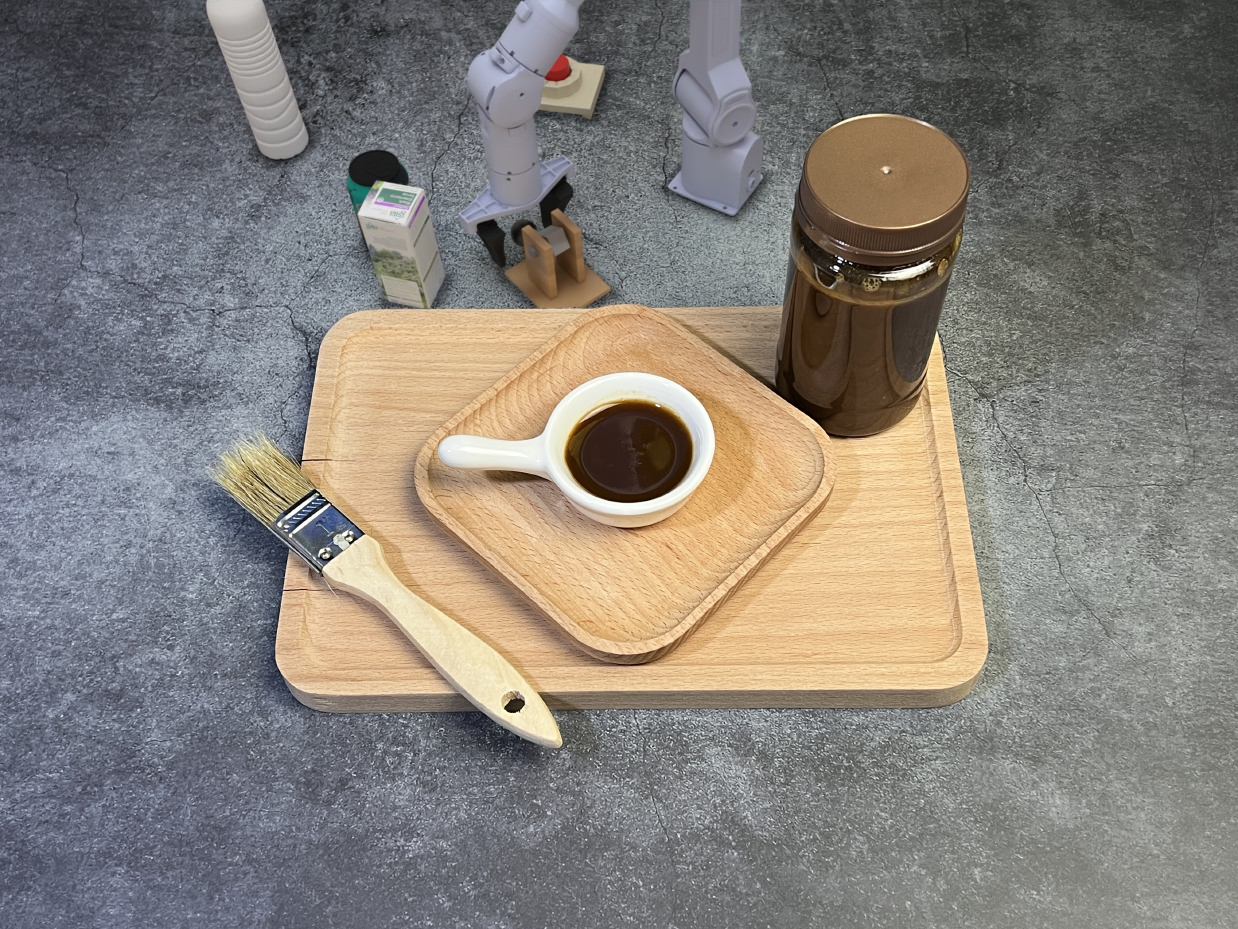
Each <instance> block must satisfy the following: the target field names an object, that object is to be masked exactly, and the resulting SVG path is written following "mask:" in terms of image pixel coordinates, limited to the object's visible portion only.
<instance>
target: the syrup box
mask: <svg viewBox="0 0 1238 929" xmlns="http://www.w3.org/2000/svg"><path fill="white" fill-rule="evenodd" d="M357 215H358V218H359V221H360V224H361V228H362V231H363V234H364V237H365V240H366V243H367V246H368V249H369V252H370V253H369V252H368V253H369V255H370V259H371V261H372V265H373V268H374V272H375V274H376V278H377V280H378V283H379V285H380V289H381V293H382V296H383V299H384V301H386V302H390V303H394V304H400V305H404V306H409V307H414V308H418V309H423V308H431V307H432V305H433V303H434V301H435V299H436V296H437V294H438V293H439V290H440V288H441V286H442V284H443V282H444V281H445V278H446V273H445V269H444V266H443V262H442V259H441V254H440V250H439V246H438V241H437V238H436V234H435V233H436V232H435V230H434V224H433V221H432V215H431V211H430V207H429V204H428V199H427V195H426V192H425V189H424V188H421V187H415V186H411V187H410V186H405V185H399V184H394V183H388V182H383V181H378V180H377V181H376V182H375V183H374V185H373V187H372V188H371V190H370V191H369V193H368V195H367V196H366V198H365V200H364V202H363V204H362V206H361V208H360V211H359V212H358V214H357Z"/></svg>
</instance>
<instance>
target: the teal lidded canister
mask: <svg viewBox="0 0 1238 929" xmlns="http://www.w3.org/2000/svg"><path fill="white" fill-rule="evenodd" d="M347 169H348V170H347V171H348V174H347V177H346V189H347V192H348V195H349V198H350V200H351V205H352V208H353V211H354V214H355V218H356V220H357V224H358V227H359V230H360V234H361V236H362V240H363V243H364V246H365V248H366V250H367V252H368V253H369V254H370V252H369V249H368V246H367V243H366V240H365V237H364V234H363V231H362V228H361V224H360V221H359V218H358V215H357V214H358V212H359V211H360V208H361V206H362V204H363V202H364V200H365V198H366V196H367V195H368V193H369V191H370V190H371V188H372V187H373V185H374V183H375V182H376V181H377V180H378V181H383V182H388V183H394V184H399V185H405V186H410V187H412V184H411V181H410V177H409V176H410V175H409V172H408V170H407V168H406V167H405V165H404V164H403V163H401V162H400V161H399V158H398V157H397V156H396V155H395V153H392V152H391V151H388V150H385V149H371V150H370V149H369V150H367V151H363V152H362V153H360V154H358V155H356V156H355V157H354V158H353V159H352V160H351V162H350V163H349V165H348V168H347Z"/></svg>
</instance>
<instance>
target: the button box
mask: <svg viewBox="0 0 1238 929" xmlns="http://www.w3.org/2000/svg"><path fill="white" fill-rule="evenodd" d="M564 56H565V57H567V58H568V60H569V69H570V74H569V77H568V78H566V79H565V80H562V81H558V82H554V81H548V80H546V79H545V82H544V83H545V85H544V86H543V88H542V99H541V104H540V107H539V109H538V111H546V112H554V113H564V114H571V115H581V116H582V117H583V118H584V119H586V120H592V118H593V114H594V111H595V107H596V104H597V101H598V99H599V96H600V92H601V89H602V85H603V83H604V79H605V76H606V74H605V73H606V70H605V65H603V64H594V63H585V62H578V61H577V60H575V59H573V58H571V57H570V56H568V55H567V56H566V55H564Z"/></svg>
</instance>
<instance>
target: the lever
mask: <svg viewBox="0 0 1238 929" xmlns="http://www.w3.org/2000/svg"><path fill="white" fill-rule="evenodd" d="M527 225H530V226H531V227H532V228H533V229H534V230H535V231H536V232H537V233H538V234H539V235H540V236H541V237H542V238H543V239H545V240H546V241H547V242H548V243H549V244H550V245H551V246H552V249H553V256H557V255H558V254H560V253H562V252H563V251H565V250H567V249H569V248H570V245H569V243H568V240H567V238H566V235H565V233H564V230H563V228H560V227H556V226H552V225H550V226H549V227H547V228H545V229H544V228H543V229H542V230H538V228H537V225H536V224H535V223H534V222H533V221H531V220H530V219H526V218H520V219H517V220H516V221H515V222H514V223H513V224H512V225H511V227H510V230H509V234H510V238H511V241H512V242H513V243H514V244H515V245H516V246H518V247H520V248H524V242H523V235H522V228H524V227H526V226H527Z"/></svg>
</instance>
